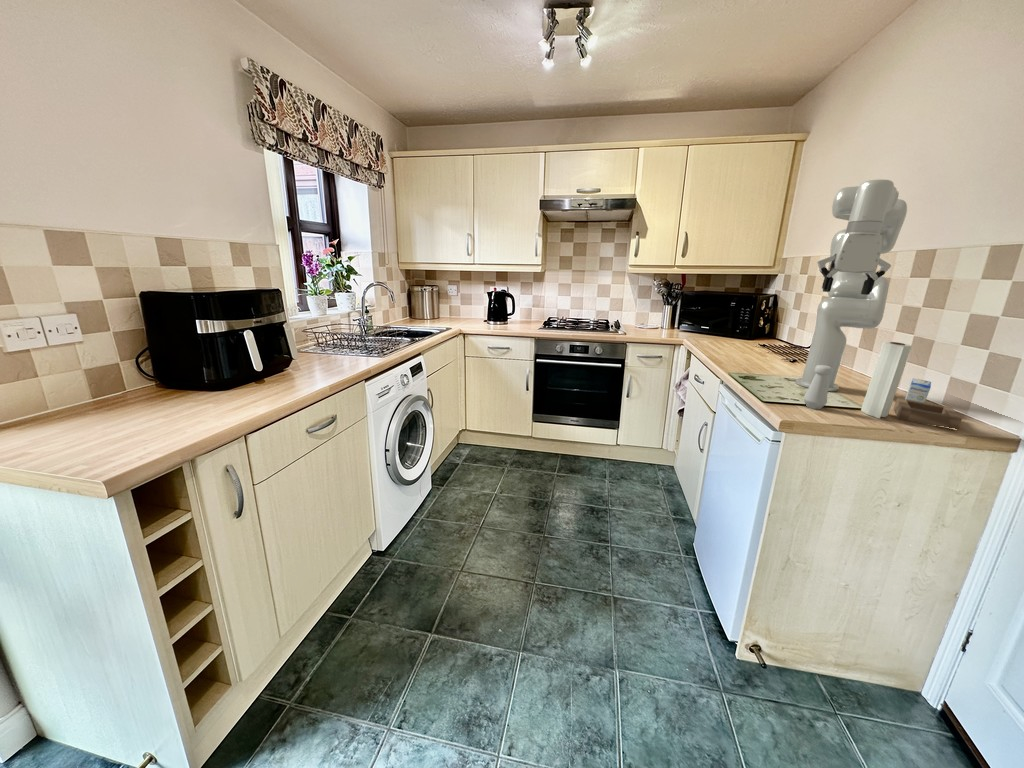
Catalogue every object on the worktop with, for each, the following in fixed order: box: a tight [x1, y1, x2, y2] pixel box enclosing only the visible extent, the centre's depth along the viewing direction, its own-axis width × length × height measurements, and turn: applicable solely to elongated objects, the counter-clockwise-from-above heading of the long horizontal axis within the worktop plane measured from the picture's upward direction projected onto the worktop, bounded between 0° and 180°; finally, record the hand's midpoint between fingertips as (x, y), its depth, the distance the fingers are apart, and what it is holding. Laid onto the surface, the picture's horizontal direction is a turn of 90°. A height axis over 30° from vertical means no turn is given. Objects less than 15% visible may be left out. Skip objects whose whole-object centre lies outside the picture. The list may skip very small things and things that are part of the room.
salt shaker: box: [803, 365, 833, 410], centre depth 122 cm, size 6×6×13 cm
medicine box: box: [904, 378, 932, 403], centre depth 127 cm, size 8×4×9 cm, turn 134°
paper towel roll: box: [860, 341, 912, 420], centre depth 117 cm, size 7×6×21 cm
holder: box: [893, 397, 963, 430], centre depth 118 cm, size 12×12×4 cm
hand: (845, 293), depth 117 cm, fingers open, 9 cm apart
